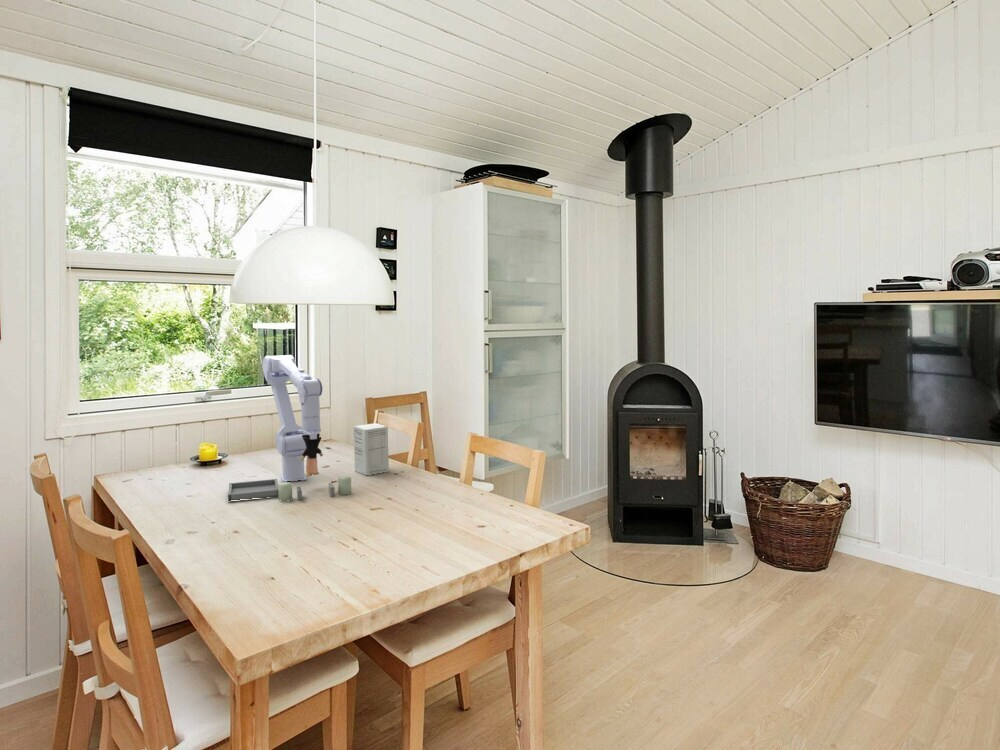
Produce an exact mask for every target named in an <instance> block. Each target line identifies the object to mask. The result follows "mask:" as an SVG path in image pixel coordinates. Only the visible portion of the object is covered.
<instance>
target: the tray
mask: <svg viewBox="0 0 1000 750" xmlns="http://www.w3.org/2000/svg"><path fill="white" fill-rule="evenodd" d="M278 484H279V482H278V479H277V478H272V479H271V478H270V479H260V480H251V481H240V482H229V484H228V490H227V491H228V492H227V493H228V494H227V500H228V501H231V500H240V499H252V498H267V497H277V498H279V497H278V496H279V493H278ZM267 499H268V498H267ZM228 501H227V502H228Z"/></svg>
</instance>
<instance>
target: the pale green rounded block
mask: <svg viewBox="0 0 1000 750" xmlns="http://www.w3.org/2000/svg"><path fill="white" fill-rule="evenodd" d="M278 493H279V497H278V501H279V500H281V501H286V502H288V501H287V500H291V499H292V500H293V483H292V481H291V482H278ZM292 500H291V501H292ZM281 501H280V502H281Z"/></svg>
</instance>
